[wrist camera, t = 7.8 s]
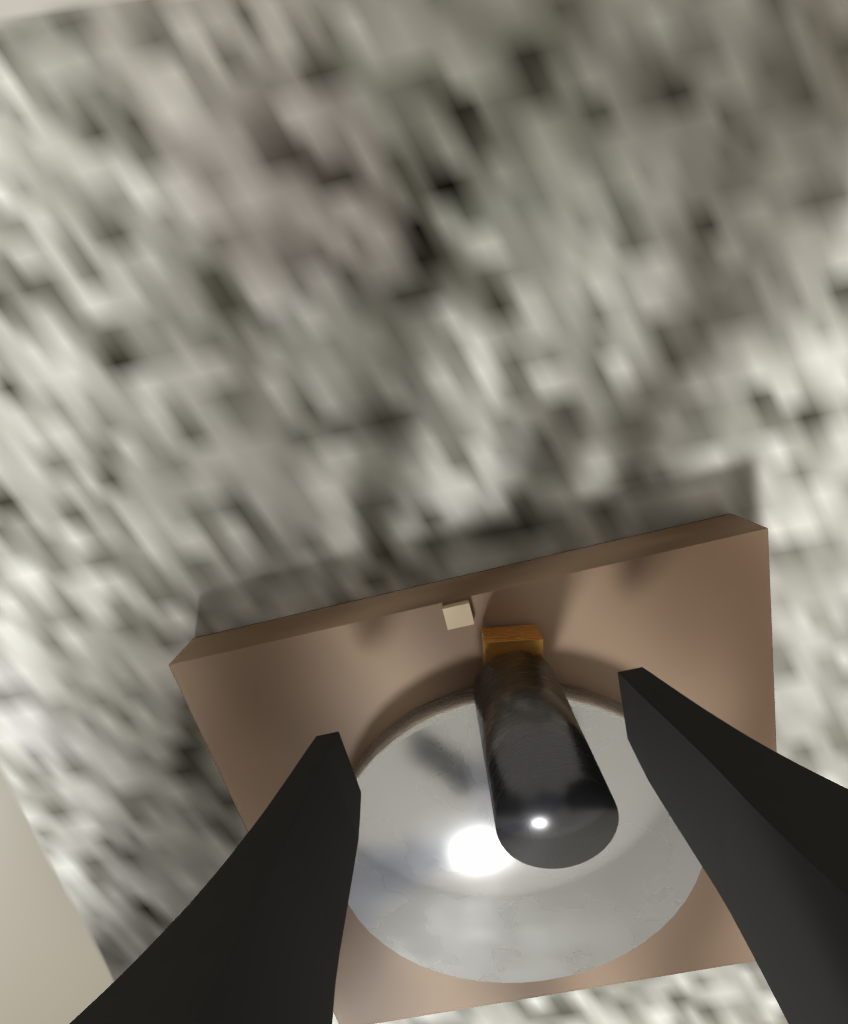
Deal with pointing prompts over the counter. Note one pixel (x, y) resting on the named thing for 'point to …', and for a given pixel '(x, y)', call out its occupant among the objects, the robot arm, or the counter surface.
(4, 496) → the counter surface
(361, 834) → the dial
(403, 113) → the counter surface
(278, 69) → the counter surface
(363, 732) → the dial board
